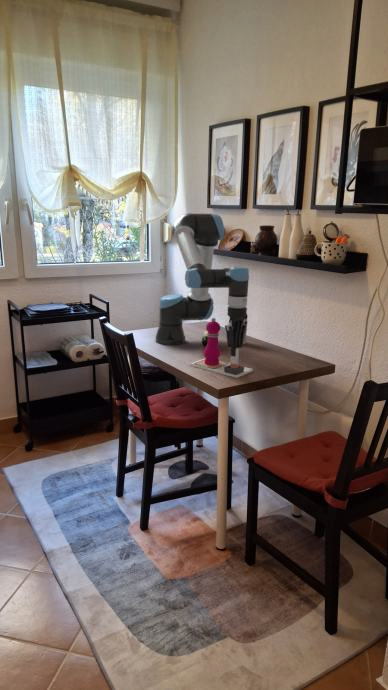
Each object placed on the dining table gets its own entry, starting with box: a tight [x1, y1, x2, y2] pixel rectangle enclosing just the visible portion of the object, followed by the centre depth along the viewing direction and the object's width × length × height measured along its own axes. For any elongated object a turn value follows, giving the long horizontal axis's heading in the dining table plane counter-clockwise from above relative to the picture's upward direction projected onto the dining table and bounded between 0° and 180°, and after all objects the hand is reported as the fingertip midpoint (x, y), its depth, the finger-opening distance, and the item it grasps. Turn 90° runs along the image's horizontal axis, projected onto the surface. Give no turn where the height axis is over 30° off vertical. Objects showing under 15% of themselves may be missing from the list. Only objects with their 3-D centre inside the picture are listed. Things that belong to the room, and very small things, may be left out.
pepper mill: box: [203, 317, 221, 365], centre depth 214 cm, size 7×7×20 cm
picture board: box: [189, 357, 254, 379], centre depth 214 cm, size 12×24×3 cm, turn 51°
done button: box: [230, 362, 240, 369], centre depth 206 cm, size 4×4×2 cm
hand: (234, 363), depth 206 cm, fingers closed
